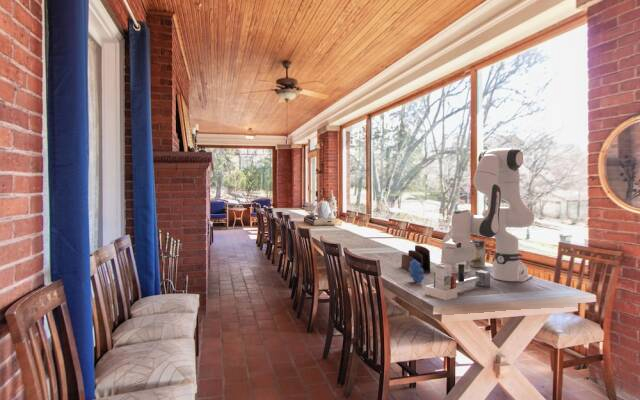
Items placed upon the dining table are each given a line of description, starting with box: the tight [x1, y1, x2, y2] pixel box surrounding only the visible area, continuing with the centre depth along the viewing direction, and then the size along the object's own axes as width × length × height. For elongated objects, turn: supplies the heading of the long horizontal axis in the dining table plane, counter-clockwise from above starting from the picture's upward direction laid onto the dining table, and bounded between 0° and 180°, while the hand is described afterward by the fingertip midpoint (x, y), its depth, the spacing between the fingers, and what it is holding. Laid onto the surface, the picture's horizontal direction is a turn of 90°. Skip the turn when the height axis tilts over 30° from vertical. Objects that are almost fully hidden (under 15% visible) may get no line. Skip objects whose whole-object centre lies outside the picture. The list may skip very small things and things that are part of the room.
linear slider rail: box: [451, 264, 480, 289], centre depth 200 cm, size 24×7×12 cm, turn 124°
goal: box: [424, 283, 458, 301], centre depth 191 cm, size 8×12×4 cm, turn 34°
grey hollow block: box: [474, 269, 491, 288], centre depth 209 cm, size 4×5×7 cm
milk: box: [440, 226, 471, 274], centre depth 243 cm, size 12×12×26 cm
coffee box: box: [470, 238, 486, 268], centre depth 255 cm, size 9×6×16 cm
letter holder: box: [401, 244, 431, 274], centre depth 246 cm, size 10×20×14 cm, turn 11°
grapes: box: [408, 259, 425, 284], centre depth 215 cm, size 12×7×12 cm, turn 22°
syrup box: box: [433, 262, 452, 291], centre depth 192 cm, size 6×6×14 cm
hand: (460, 270), depth 199 cm, fingers open, 8 cm apart
